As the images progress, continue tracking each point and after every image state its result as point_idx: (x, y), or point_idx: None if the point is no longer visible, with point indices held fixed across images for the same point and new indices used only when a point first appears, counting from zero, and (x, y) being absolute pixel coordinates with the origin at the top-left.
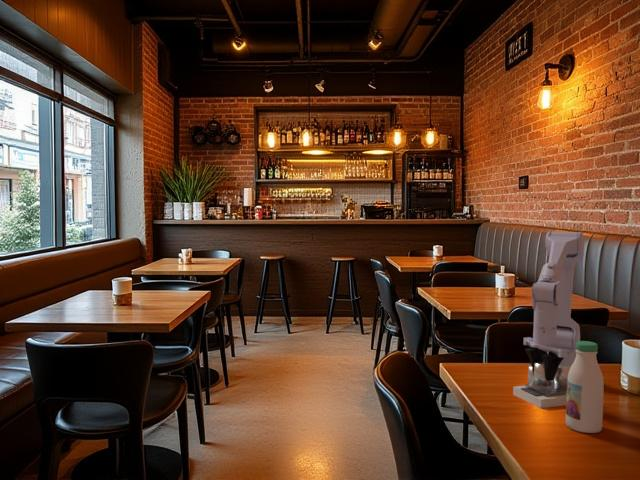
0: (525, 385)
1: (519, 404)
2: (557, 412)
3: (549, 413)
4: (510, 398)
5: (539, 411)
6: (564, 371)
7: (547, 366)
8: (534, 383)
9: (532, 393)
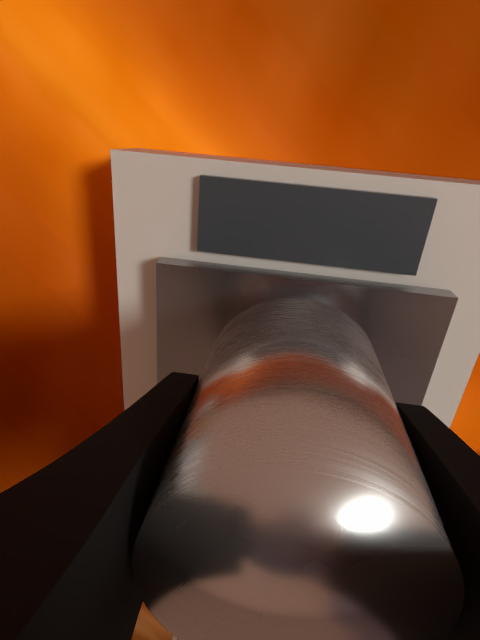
0: (451, 292)
1: (278, 30)
2: (40, 204)
3: (30, 127)
4: (444, 72)
5: (82, 79)
6: None
7: (17, 489)
8: (327, 306)
9: (254, 189)
